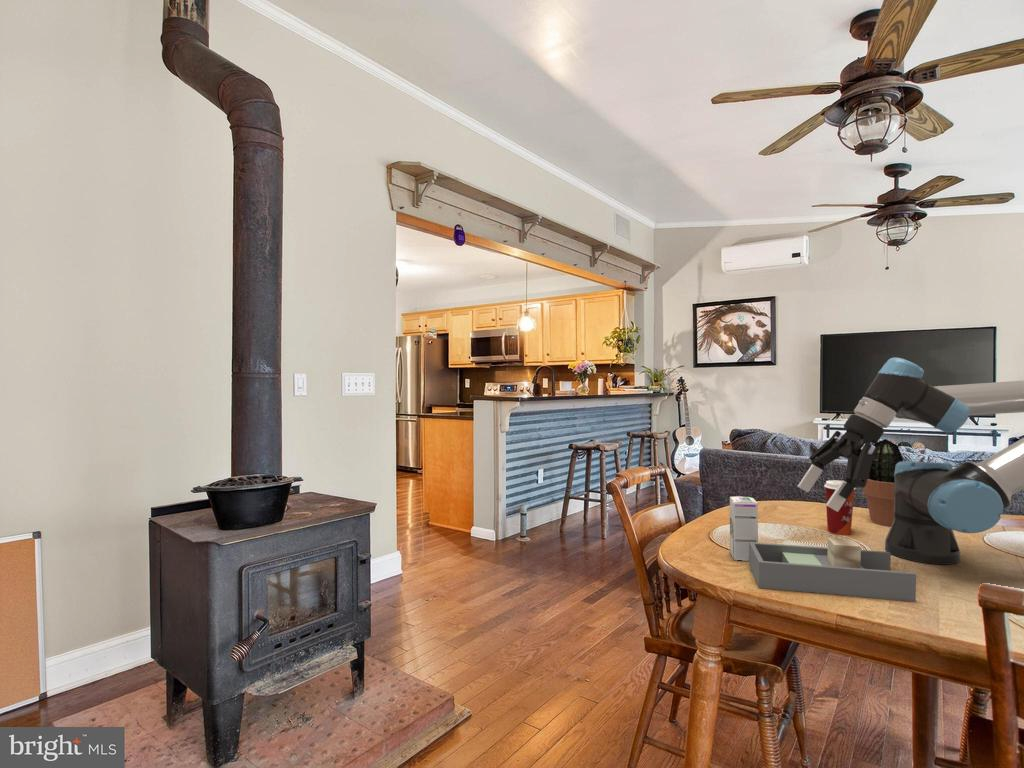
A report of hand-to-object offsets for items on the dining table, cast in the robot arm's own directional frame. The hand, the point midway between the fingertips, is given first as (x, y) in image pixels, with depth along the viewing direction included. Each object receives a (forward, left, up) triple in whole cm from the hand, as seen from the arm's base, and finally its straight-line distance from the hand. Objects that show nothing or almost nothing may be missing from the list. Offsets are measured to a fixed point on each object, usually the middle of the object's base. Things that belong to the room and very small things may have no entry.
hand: (816, 498), depth 133 cm
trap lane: (+1, +10, -16) cm, 19 cm away
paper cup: (-13, -31, -16) cm, 38 cm away
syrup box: (+16, -2, -16) cm, 22 cm away
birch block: (-3, +10, -12) cm, 16 cm away
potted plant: (-30, -45, -16) cm, 57 cm away
